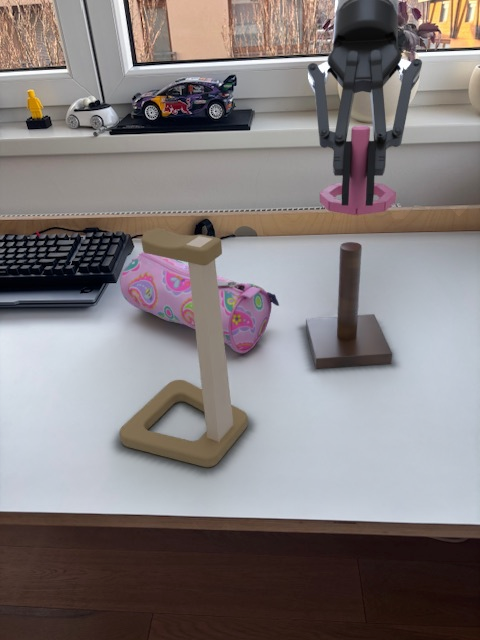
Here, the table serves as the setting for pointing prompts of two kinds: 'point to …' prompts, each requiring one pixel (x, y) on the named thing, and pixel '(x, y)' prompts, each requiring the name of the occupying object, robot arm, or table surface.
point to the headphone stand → (215, 393)
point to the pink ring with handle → (358, 182)
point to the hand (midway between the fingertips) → (357, 200)
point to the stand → (348, 323)
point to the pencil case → (176, 299)
